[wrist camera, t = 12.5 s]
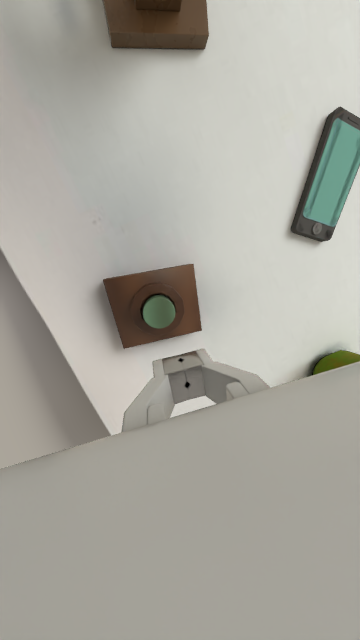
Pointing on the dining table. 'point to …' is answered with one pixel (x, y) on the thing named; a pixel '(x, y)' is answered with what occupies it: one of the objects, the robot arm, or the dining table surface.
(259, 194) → the dining table surface
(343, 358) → the apple
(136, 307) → the button block
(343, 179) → the smartphone
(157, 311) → the light button
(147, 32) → the switch bracket
